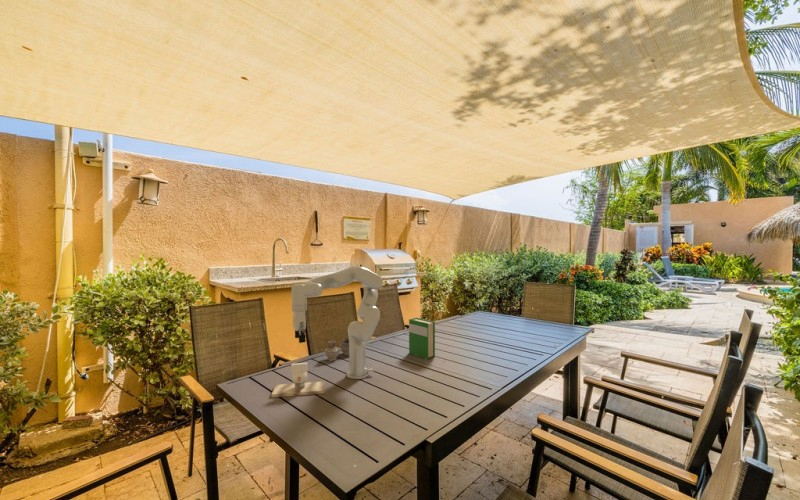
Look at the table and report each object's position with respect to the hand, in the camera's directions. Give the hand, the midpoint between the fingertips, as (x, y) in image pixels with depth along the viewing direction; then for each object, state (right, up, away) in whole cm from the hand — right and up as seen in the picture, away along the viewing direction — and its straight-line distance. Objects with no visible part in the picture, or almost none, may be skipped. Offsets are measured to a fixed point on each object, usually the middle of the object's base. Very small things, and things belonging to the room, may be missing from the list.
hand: (300, 340), depth 178 cm
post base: (0, -26, 0) cm, 26 cm away
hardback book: (+67, -26, +57) cm, 92 cm away
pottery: (+12, -26, +54) cm, 61 cm away
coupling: (0, -21, -1) cm, 21 cm away
